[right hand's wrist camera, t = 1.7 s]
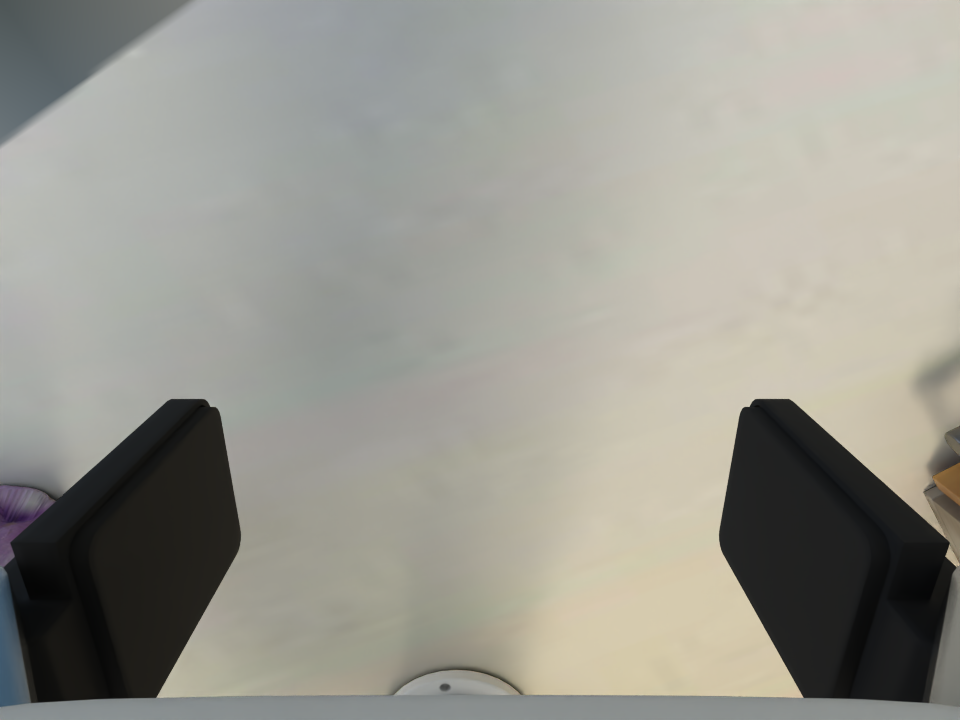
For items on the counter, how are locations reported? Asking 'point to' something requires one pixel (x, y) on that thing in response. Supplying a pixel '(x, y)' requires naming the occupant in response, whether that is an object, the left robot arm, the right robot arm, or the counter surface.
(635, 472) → the counter surface
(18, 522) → the figurine
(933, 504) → the grey boxy block
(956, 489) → the drawer
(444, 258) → the counter surface
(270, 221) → the counter surface
